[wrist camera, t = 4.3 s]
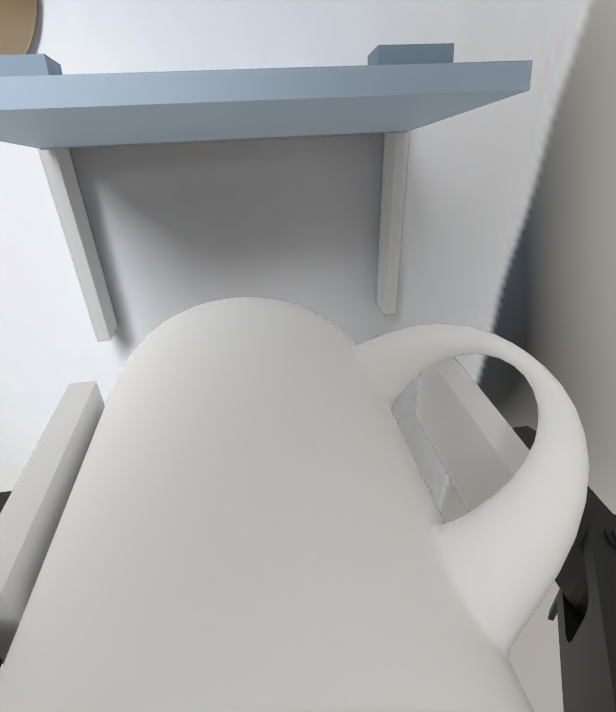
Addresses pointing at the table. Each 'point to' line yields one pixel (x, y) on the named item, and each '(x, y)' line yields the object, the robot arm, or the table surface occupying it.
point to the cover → (246, 99)
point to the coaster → (17, 25)
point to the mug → (289, 532)
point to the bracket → (90, 267)
